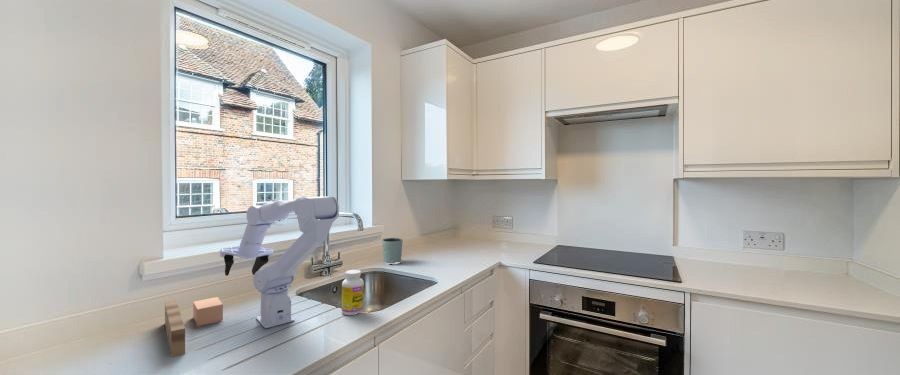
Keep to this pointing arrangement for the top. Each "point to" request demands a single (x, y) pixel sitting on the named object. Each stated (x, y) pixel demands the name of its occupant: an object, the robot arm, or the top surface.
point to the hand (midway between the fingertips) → (240, 273)
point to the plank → (174, 329)
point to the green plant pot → (392, 249)
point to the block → (207, 311)
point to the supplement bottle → (352, 293)
